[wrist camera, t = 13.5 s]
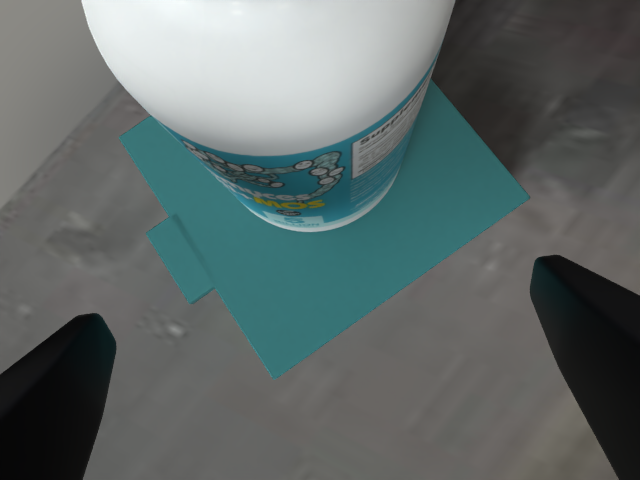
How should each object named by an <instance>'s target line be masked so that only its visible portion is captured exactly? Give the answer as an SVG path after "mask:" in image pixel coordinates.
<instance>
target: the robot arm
mask: <svg viewBox="0 0 640 480" xmlns="http://www.w3.org/2000/svg"><path fill="white" fill-rule="evenodd" d="M530 296H531V300H532V302H533V305H534V308H535V310H536V313H537V315H538V318H539V320H540V323H541V325H542V328H543V330H544V333H545V335H546V338H547V340H548V343H549V345H550V348H551V350H552V353H553V355H554V358H555V360H556V362H557V365H558V367H559V369H560V371H561V373H562V375H563V377H564V379H565V381H566V382H567V384H568V386H569V388H570V390H571V392H572V393H573V395H574V397H575V399H576V401H577V403H578V405H579V406H580V408H581V410H582V412H583V414H584V416H585V418H586V419H587V421H588V423H589V425H590V427H591V429H592V431H593V432H594V434H595V436H596V438H597V440H598V442H599V444H600V445H601V447H602V449H603V451H604V453H605V455H606V457H607V458H608V460H609V462H610V464H611V466H612V468H613V469H614V471H615V473H616V475H617V477H618V479H619V480H640V295H638V294H636V293H634V292H632V291H630V290H628V289H626V288H624V287H622V286H620V285H618V284H616V283H614V282H612V281H610V280H608V279H606V278H604V277H602V276H600V275H598V274H596V273H594V272H592V271H590V270H588V269H586V268H584V267H582V266H580V265H578V264H576V263H574V262H572V261H570V260H568V259H566V258H564V257H562V256H560V255H550V256H542V257H539V258H537V259H536V260H535V263H534V267H533V273H532V279H531V285H530ZM115 354H116V341H115V338H114V337H113V335H112V333H111V332H110V330H109V328H108V326H107V325H106V323H105V321H104V320H103V318H102V317H101V316H100V315H99V314H97V313H91V314H83V315H78V316H76V317H75V318H73V319H72V320H71V321H69V322H68V323H67V324H65V325H64V326H63V327H62V328H60V329H59V330H58V331H56V332H55V333H54V334H52V335H51V336H50V337H49V338H47V339H46V340H45V341H43V342H42V343H41V344H39V345H38V346H37V347H36V348H34V349H33V350H32V351H30V352H29V353H28V354H26V355H25V356H24V357H22V358H21V359H20V360H19V361H17V362H16V363H15V364H13V365H12V366H11V367H9V368H8V369H7V370H6V371H4V372H3V373H2V374H0V480H83V477H84V474H85V470H86V467H87V464H88V461H89V458H90V455H91V452H92V449H93V445H94V442H95V439H96V436H97V433H98V430H99V426H100V423H101V419H102V416H103V412H104V407H105V403H106V398H107V393H108V388H109V383H110V378H111V374H112V369H113V364H114V359H115Z"/></svg>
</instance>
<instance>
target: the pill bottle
mask: <svg viewBox="0 0 640 480" xmlns="http://www.w3.org/2000/svg"><path fill="white" fill-rule="evenodd" d="M81 1H82V5H83V8H84V12H85V15H86V19H87V23H88V26H89V29H90V31H91V33H92V36H93V38H94V40H95V43H96V45H97V47H98V49H99V51H100V53H101V55H102V56H103V58H104V60H105V62H106V63H107V65H108V67H109V68H110V70H111V71H112V72H113V74H114V75H115V77H116V78H117V79H118V81H119V82H120V83H121V84H122V85H123V87H124V88H125V89H126V90H127V91H128V92H129V93H130V94H131V95H132V96H133V97H134V98H135V99H136V100H137V101H138V102H139V103H140V104H141V106H142V107H143V108H144V109H145V110H146V111H147V112H148V113H149V114H150V115H151V116H152V117H153V118H155V119H156V120H157V121H158V122H159V123H160V124H161V125H162V126H163V127H164V128H165V129H166V130H167V131H168V132H169V133H170V134H171V135H172V136H173V137H174V138H175V139H176V140H177V141H179V142H180V143H181V144H182V145H183V146H184V147H185V148H186V149H187V150H188V151H189V152H190V153H191V154H192V155H193V156H194V157H195V158H196V159H197V160H198V161H199V162H200V163H201V164H202V165H203V166H204V167H205V168H206V169H207V170H208V171H209V172H210V173H211V174H212V175H213V176H214V177H215V178H216V179H217V180H218V181H220V182H221V183H222V184H223V185H224V186H225V187H226V188H227V189H228V190H229V191H230V192H231V193H232V194H233V195H234V196H235V197H236V198H237V199H238V200H239V201H240V202H241V203H242V204H243V205H244V206H246V207H247V208H248V209H249V210H250V211H251V212H252V213H254V214H255V215H257V216H258V217H260V218H262V219H263V220H265V221H266V222H268V223H271V224H273V225H275V226H278V227H281V228H284V229H288V230H293V231H301V232H318V231H326V230H331V229H335V228H338V227H341V226H344V225H347V224H349V223H351V222H353V221H355V220H357V219H358V218H360V217H362V216H363V215H365V214H366V213H367V212H369V211H370V210H371V209H372V208H373V207H374V206H376V205H377V204H378V203H379V202H380V200H381V199H382V198H383V197H384V196H385V195H386V193H387V192H388V190H389V189H390V187H391V186H392V184H393V182H394V180H395V178H396V176H397V174H398V171H399V169H400V166H401V163H402V161H403V158H404V155H405V152H406V149H407V146H408V143H409V140H410V138H411V135H412V132H413V129H414V126H415V123H416V120H417V116H418V114H419V111H420V108H421V105H422V102H423V99H424V96H425V93H426V90H427V87H428V84H429V81H430V78H431V75H432V72H433V69H434V67H435V64H436V61H437V57H438V55H439V52H440V49H441V46H442V43H443V39H444V36H445V33H446V30H447V27H448V23H449V20H450V17H451V14H452V10H453V7H454V4H455V0H81Z"/></svg>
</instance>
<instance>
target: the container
mask: <svg viewBox="0 0 640 480" xmlns="http://www.w3.org/2000/svg"><path fill="white" fill-rule="evenodd" d="M119 139H120V141H121V142H122V144H123V145H124V147H125V149H126V150H127V152H128V153H129V155H130V156H131V158H132V160H133V161H134V163H135V164H136V166H137V167H138V169H139V170H140V172H141V174H142V175H143V177H144V178H145V180H146V181H147V183H148V185H149V186H150V188H151V189H152V191H153V192H154V194H155V195H156V197H157V199H158V200H159V202H160V203H161V205H162V206H163V208H164V210H165V211H166V213H167V214H168V216H169V217H168V218H167V219H165V220H164V221H162V222H161V223H159V224H158V225H157V226H155V227H154V228H152V229H151V230H149V231H148V232H146V235H147V237H148V238H149V240H150V241H151V243H152V245H153V246H154V248H155V250H156V251H157V253H158V254H159V256H160V258H161V259H162V261H163V262H164V264H165V266H166V267H167V269H168V270H169V272H170V274H171V275H172V277H173V278H174V280H175V282H176V283H177V285H178V286H179V288H180V290H181V291H182V293H183V295H184V296H185V298H186V299H187V301H188V303H189V304H194V303H195V302H196V301H198V300H199V299H201V298H202V297H204V296H205V295H207V294H208V293H209V292H211V291H212V290H214V289H216V291H217V292H218V294H219V296H220V297H221V299H222V300H223V302H224V303H225V305H226V306H227V308H228V310H229V311H230V313H231V314H232V316H233V317H234V319H235V321H236V322H237V324H238V325H239V327H240V328H241V330H242V331H243V333H244V335H245V336H246V338H247V339H248V341H249V342H250V344H251V346H252V347H253V349H254V350H255V352H256V353H257V355H258V357H259V358H260V360H261V361H262V363H263V364H264V366H265V367H266V369H267V371H268V372H269V374H270V375H271V377H272V378H273V379H274V380H275V379H276V378H278V377H279V376H281V375H282V374H284V373H285V372H286V371H288V370H289V369H291V368H292V367H293V366H295V365H296V364H298V363H299V362H300V361H302V360H303V359H305V358H306V357H307V356H309V355H310V354H312V353H313V352H314V351H316V350H317V349H319V348H320V347H321V346H323V345H324V344H326V343H327V342H329V341H330V340H331V339H333V338H334V337H336V336H337V335H338V334H340V333H341V332H343V331H344V330H345V329H347V328H348V327H350V326H351V325H352V324H354V323H355V322H357V321H358V320H359V319H361V318H362V317H364V316H365V315H366V314H368V313H369V312H371V311H372V310H374V309H375V308H376V307H378V306H379V305H381V304H382V303H383V302H385V301H386V300H388V299H389V298H390V297H392V296H393V295H395V294H396V293H397V292H399V291H400V290H402V289H403V288H404V287H406V286H407V285H409V284H410V283H411V282H413V281H414V280H416V279H417V278H419V277H420V276H421V275H423V274H424V273H426V272H427V271H428V270H430V269H431V268H433V267H434V266H435V265H437V264H438V263H440V262H441V261H442V260H444V259H445V258H447V257H448V256H449V255H451V254H452V253H454V252H455V251H456V250H458V249H459V248H461V247H462V246H464V245H465V244H466V243H468V242H469V241H471V240H472V239H473V238H475V237H476V236H478V235H479V234H480V233H482V232H483V231H485V230H486V229H487V228H489V227H490V226H492V225H493V224H494V223H496V222H497V221H499V220H500V219H501V218H503V217H504V216H506V215H507V214H509V213H510V212H511V211H513V210H514V209H516V208H517V207H518V206H520V205H521V204H523V203H524V202H525V201H527V200H528V199H530V196H529V195H528V194H527V193H526V191H525V190H524V189H523V188H522V187H521V185H520V184H519V183H518V182H517V181H516V180H515V178H514V177H513V176H512V175H511V174H510V172H509V171H508V170H507V169H506V168H505V166H504V165H503V164H502V163H501V162H500V160H499V159H498V158H497V157H496V156H495V154H494V153H493V152H492V151H491V150H490V149H489V147H488V146H487V145H486V144H485V143H484V141H483V140H482V139H481V138H480V137H479V135H478V134H477V133H476V132H475V131H474V129H473V128H472V127H471V126H470V125H469V123H468V122H467V121H466V120H465V119H464V118H463V116H462V115H461V114H460V113H459V112H458V110H457V109H456V108H455V107H454V106H453V104H452V103H451V102H450V101H449V100H448V98H447V97H446V96H445V95H444V94H443V92H442V91H441V90H440V89H439V88H438V87H437V85H436V84H435V83H434V82H433V81H432V79H431V78H430V81H429V84H428V87H427V90H426V93H425V96H424V99H423V102H422V105H421V108H420V111H419V114H418V116H417V120H416V123H415V126H414V129H413V132H412V135H411V138H410V140H409V143H408V146H407V149H406V152H405V155H404V158H403V161H402V163H401V166H400V169H399V171H398V174H397V176H396V178H395V180H394V182H393V184H392V186H391V187H390V189H389V190H388V192H387V193H386V195H385V196H384V197H383V198H382V199H381V200H380V202H379V203H378V204H377V205H376V206H374V207H373V208H372V209H371V210H370V211H369V212H367V213H366V214H365V215H363V216H362V217H360V218H358V219H357V220H355V221H353V222H351V223H349V224H347V225H344V226H341V227H338V228H335V229H331V230H326V231H318V232H301V231H293V230H288V229H284V228H281V227H278V226H275V225H273V224H271V223H268V222H266V221H265V220H263V219H262V218H260V217H258V216H257V215H255V214H254V213H252V212H251V211H250V210H249V209H248V208H247V207H246V206H244V205H243V204H242V203H241V202H240V201H239V200H238V199H237V198H236V197H235V196H234V195H233V194H232V193H231V192H230V191H229V190H228V189H227V188H226V187H225V186H224V185H223V184H222V183H221V182H220V181H218V180H217V179H216V178H215V177H214V176H213V175H212V174H211V173H210V172H209V171H208V170H207V169H206V168H205V167H204V166H203V165H202V164H201V163H200V162H199V161H198V160H197V159H196V158H195V157H194V156H193V155H192V154H191V153H190V152H189V151H188V150H187V149H186V148H185V147H184V146H183V145H182V144H181V143H180V142H179V141H177V140H176V139H175V138H174V137H173V136H172V135H171V134H170V133H169V132H168V131H167V130H166V129H165V128H164V127H163V126H162V125H161V124H160V123H159V122H158V121H157V120H156V119H155V118H153V117H152V116H149V117H148V118H146V119H145V120H143V121H142V122H140V123H139V124H137V125H136V126H134V127H133V128H131V129H130V130H129V131H127V132H126V133H124V134H123V135H121V136H120V137H119Z"/></svg>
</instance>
